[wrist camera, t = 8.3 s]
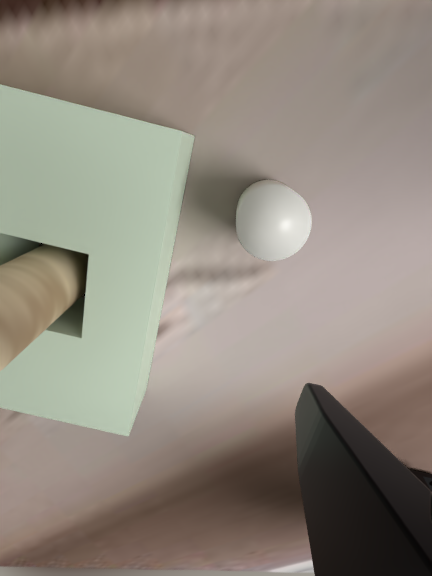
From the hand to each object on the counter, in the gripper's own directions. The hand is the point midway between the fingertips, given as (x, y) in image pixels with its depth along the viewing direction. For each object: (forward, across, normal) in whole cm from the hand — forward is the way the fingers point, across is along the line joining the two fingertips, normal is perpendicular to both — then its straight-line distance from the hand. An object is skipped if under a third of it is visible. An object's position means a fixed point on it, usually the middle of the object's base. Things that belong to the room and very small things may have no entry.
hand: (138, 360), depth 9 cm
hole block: (+13, +8, +3) cm, 15 cm away
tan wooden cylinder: (+13, +7, +3) cm, 15 cm away
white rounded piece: (+13, -4, -3) cm, 14 cm away
